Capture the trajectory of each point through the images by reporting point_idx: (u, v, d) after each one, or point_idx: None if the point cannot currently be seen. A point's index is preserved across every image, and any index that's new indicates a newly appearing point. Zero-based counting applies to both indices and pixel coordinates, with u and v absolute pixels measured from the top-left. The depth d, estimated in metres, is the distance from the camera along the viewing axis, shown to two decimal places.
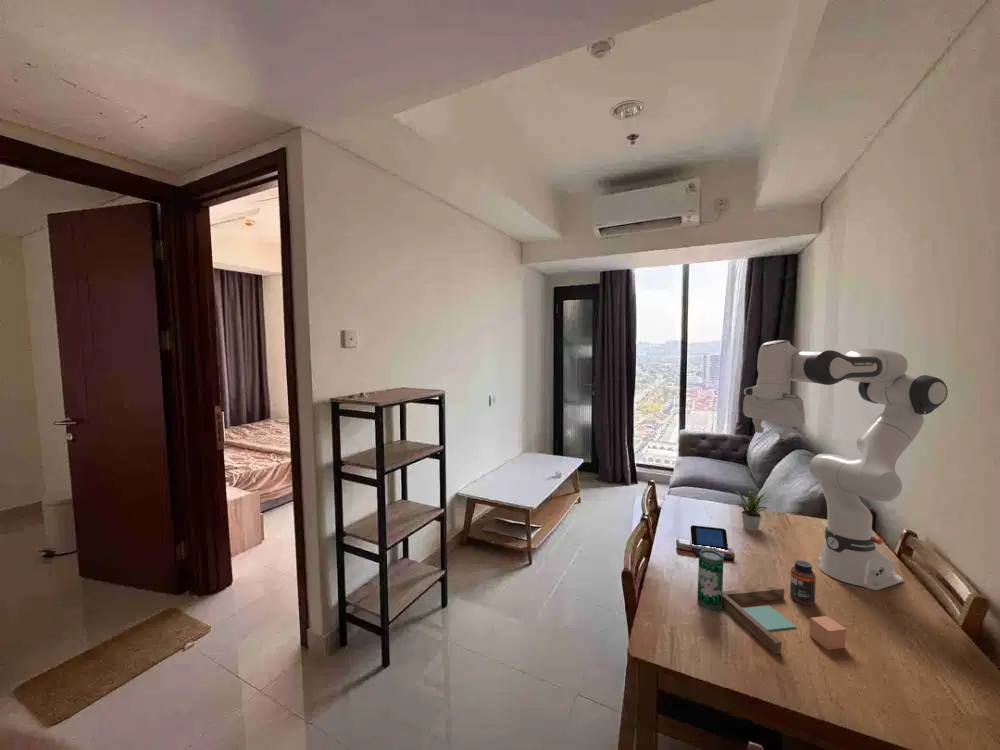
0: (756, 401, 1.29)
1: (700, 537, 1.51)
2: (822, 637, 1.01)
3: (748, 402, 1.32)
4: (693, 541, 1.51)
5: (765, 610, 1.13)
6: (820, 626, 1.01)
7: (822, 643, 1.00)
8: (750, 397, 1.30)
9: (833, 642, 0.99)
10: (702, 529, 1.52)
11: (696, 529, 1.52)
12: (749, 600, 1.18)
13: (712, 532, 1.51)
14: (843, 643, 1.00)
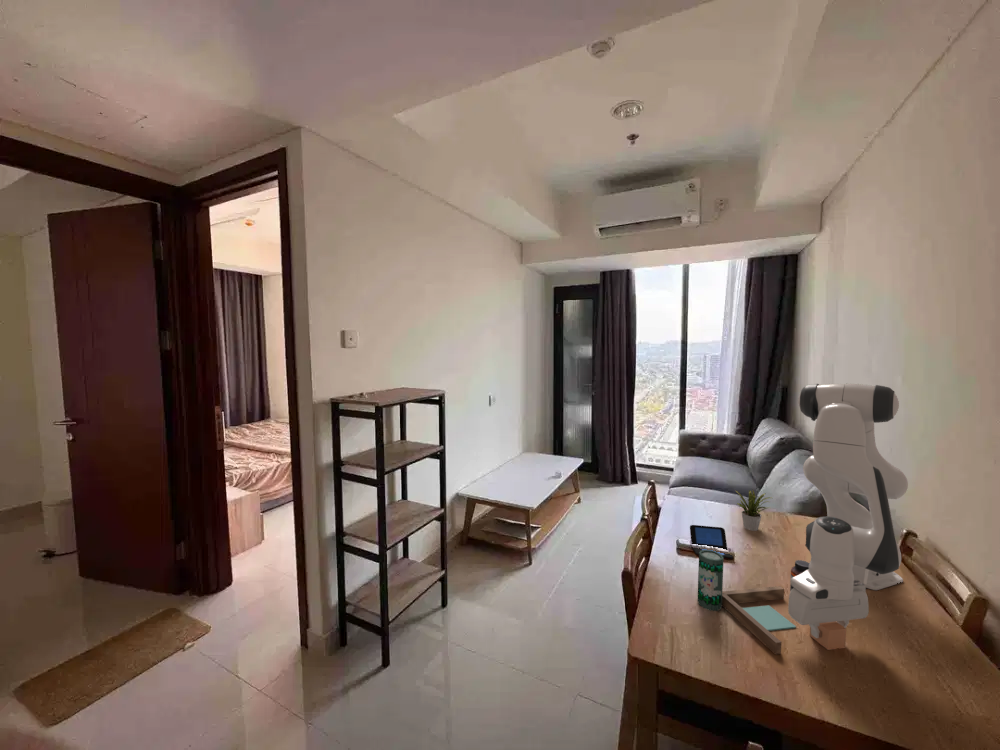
0: (821, 602, 0.99)
1: (699, 536, 1.51)
2: (822, 636, 1.01)
3: (809, 606, 0.98)
4: (693, 540, 1.51)
5: (765, 610, 1.13)
6: (820, 626, 1.01)
7: (822, 643, 1.00)
8: (819, 600, 0.98)
9: (833, 642, 0.99)
10: (701, 528, 1.53)
11: (695, 528, 1.53)
12: (749, 600, 1.18)
13: (711, 531, 1.52)
14: (843, 643, 1.00)
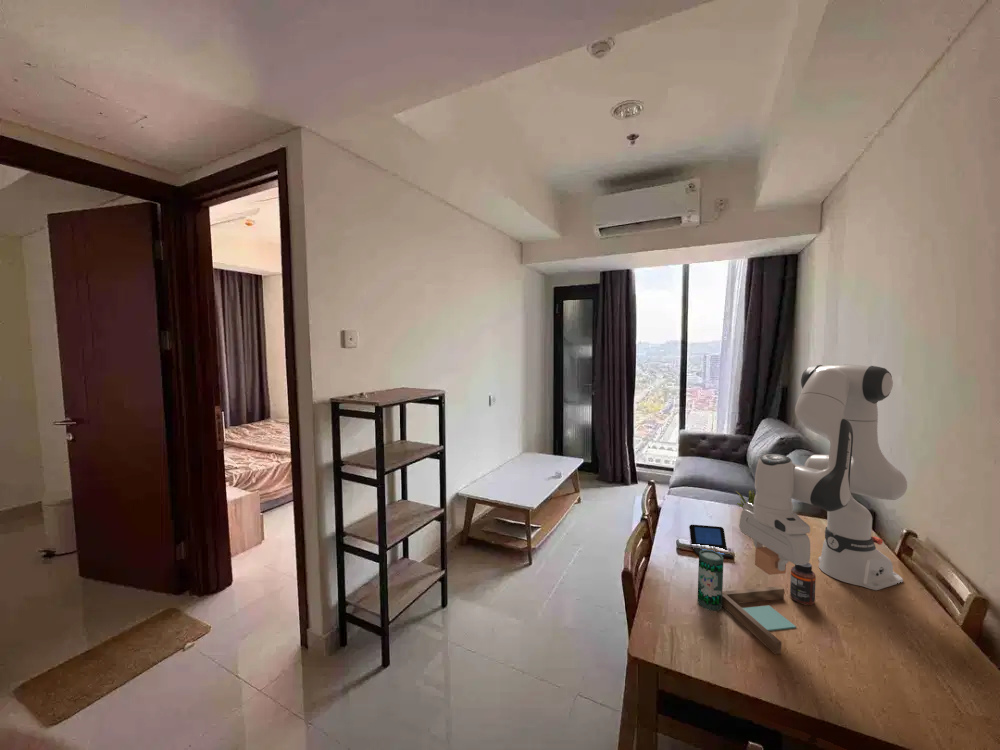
0: None
1: (699, 536, 1.52)
2: None
3: None
4: (692, 540, 1.51)
5: (765, 610, 1.13)
6: None
7: (781, 571, 1.07)
8: None
9: None
10: (700, 528, 1.53)
11: (695, 528, 1.53)
12: (749, 600, 1.18)
13: (710, 530, 1.52)
14: None
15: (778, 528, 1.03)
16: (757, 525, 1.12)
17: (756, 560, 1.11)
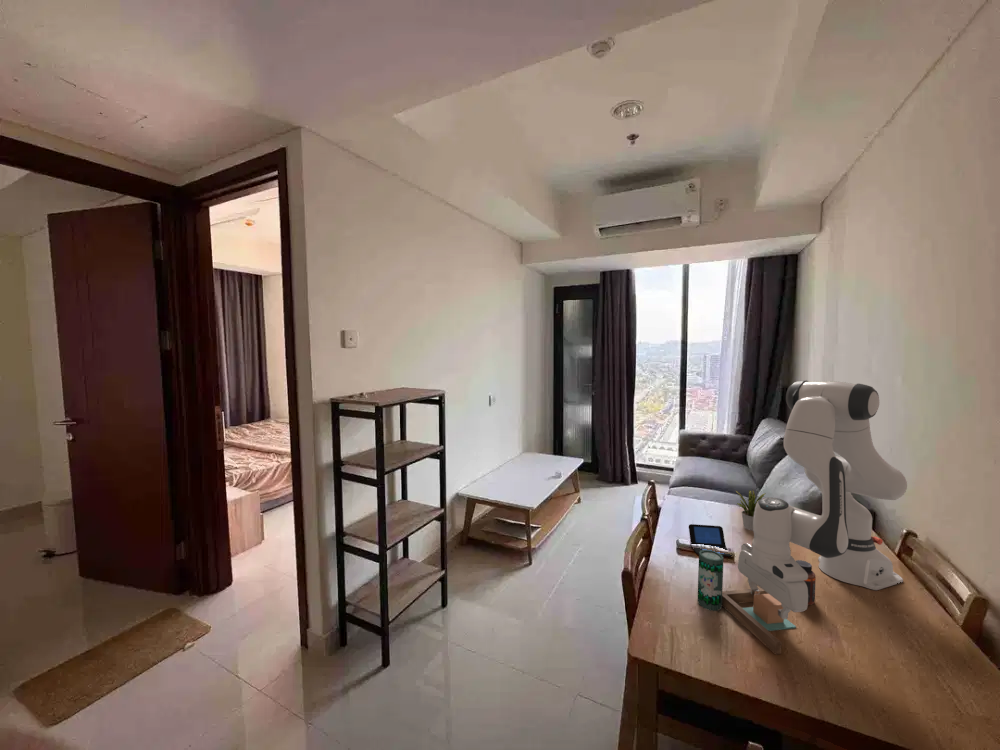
0: None
1: (698, 535, 1.52)
2: None
3: None
4: (692, 540, 1.52)
5: None
6: (777, 606, 1.08)
7: (779, 620, 1.08)
8: None
9: None
10: (700, 527, 1.53)
11: (694, 527, 1.54)
12: (749, 600, 1.18)
13: (709, 530, 1.53)
14: None
15: (776, 574, 1.04)
16: (755, 567, 1.13)
17: (754, 608, 1.12)
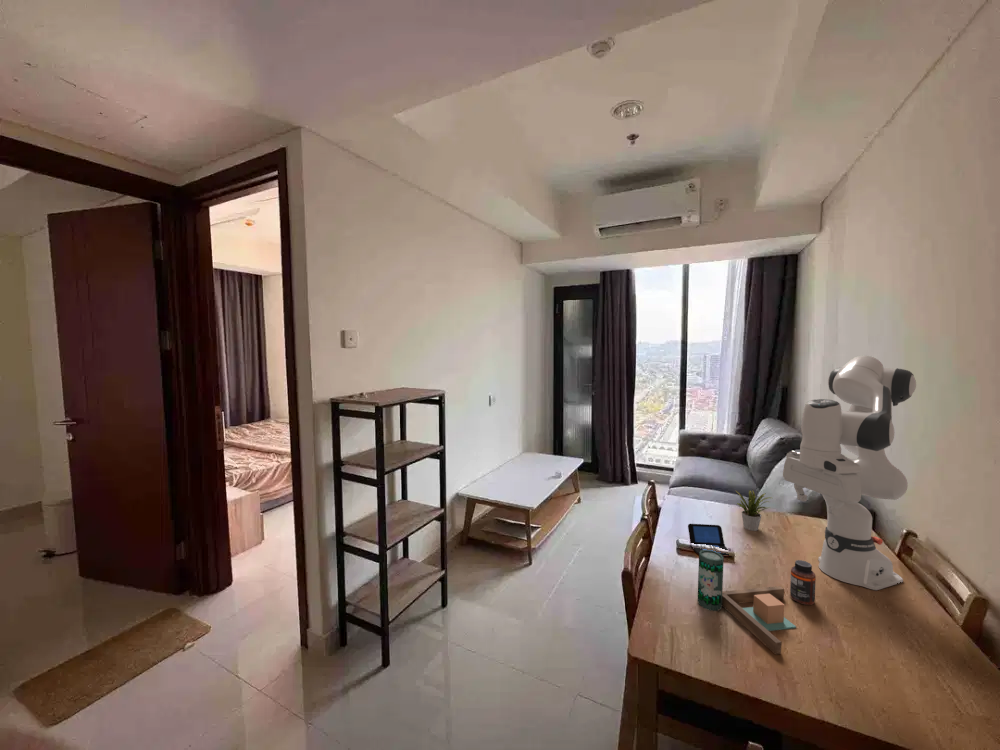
0: None
1: (698, 535, 1.52)
2: (778, 614, 1.08)
3: None
4: (691, 539, 1.52)
5: None
6: (777, 606, 1.08)
7: (779, 620, 1.08)
8: None
9: None
10: (699, 527, 1.54)
11: (693, 527, 1.54)
12: (749, 600, 1.18)
13: (708, 529, 1.53)
14: None
15: (828, 469, 1.04)
16: (803, 471, 1.13)
17: (754, 608, 1.12)
